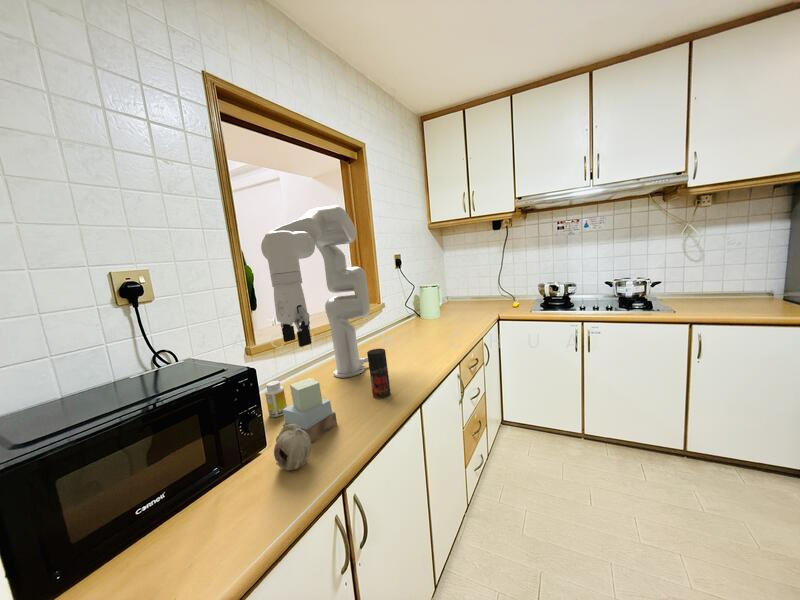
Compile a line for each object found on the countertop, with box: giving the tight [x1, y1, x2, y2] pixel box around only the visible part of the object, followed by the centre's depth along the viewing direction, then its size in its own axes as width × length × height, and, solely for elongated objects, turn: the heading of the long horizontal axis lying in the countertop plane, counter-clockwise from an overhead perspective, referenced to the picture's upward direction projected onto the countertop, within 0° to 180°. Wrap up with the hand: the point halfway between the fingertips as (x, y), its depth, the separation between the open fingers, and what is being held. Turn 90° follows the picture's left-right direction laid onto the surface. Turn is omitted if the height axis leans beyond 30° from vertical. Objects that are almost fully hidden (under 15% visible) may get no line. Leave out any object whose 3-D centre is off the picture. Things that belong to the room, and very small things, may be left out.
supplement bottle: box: [264, 380, 288, 418], centre depth 103 cm, size 6×6×10 cm
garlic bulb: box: [273, 424, 312, 472], centre depth 75 cm, size 10×8×10 cm
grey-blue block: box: [282, 398, 333, 430], centre depth 90 cm, size 9×9×4 cm
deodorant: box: [366, 348, 392, 400], centre depth 107 cm, size 6×6×15 cm
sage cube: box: [289, 377, 323, 412], centre depth 89 cm, size 6×6×6 cm
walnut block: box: [282, 411, 338, 445], centre depth 90 cm, size 10×10×4 cm
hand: (297, 342), depth 87 cm, fingers open, 9 cm apart
